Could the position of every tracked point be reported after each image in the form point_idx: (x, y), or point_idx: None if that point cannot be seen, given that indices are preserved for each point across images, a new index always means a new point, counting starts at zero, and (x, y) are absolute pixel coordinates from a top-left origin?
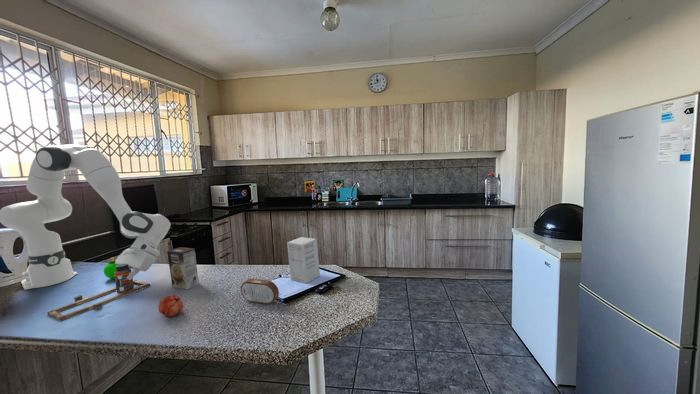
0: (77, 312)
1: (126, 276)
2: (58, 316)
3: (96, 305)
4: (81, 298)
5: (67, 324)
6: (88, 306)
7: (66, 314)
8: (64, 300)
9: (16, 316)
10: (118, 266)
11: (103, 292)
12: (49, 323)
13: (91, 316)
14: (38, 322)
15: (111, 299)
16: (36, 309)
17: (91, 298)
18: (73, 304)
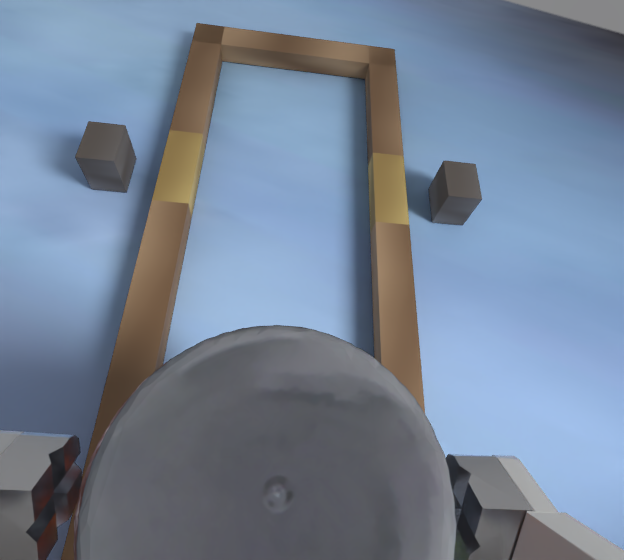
0: (182, 86)
1: (56, 449)
2: (240, 32)
3: (90, 133)
4: (439, 204)
5: (100, 26)
6: (188, 138)
7: (216, 50)
8: (572, 188)
9: (536, 31)
10: (231, 354)
11: (395, 332)
12: (237, 19)
13: (34, 99)
14: (319, 16)
15: (137, 275)
16: (555, 86)
17: (373, 239)
18: (370, 140)
